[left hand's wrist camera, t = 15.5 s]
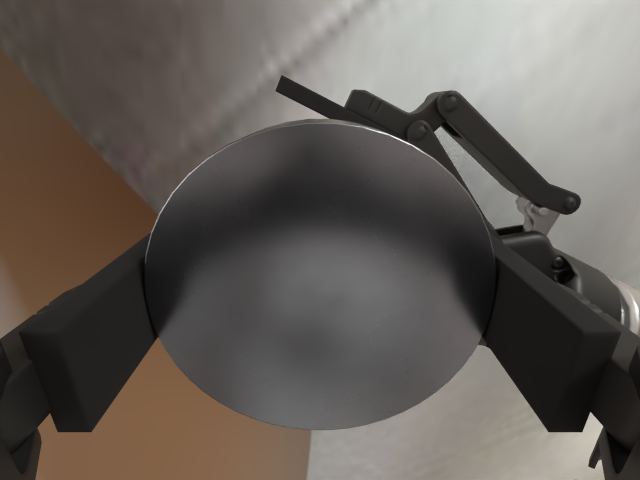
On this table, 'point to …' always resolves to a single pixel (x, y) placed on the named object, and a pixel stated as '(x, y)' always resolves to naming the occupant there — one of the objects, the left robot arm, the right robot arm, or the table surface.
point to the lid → (320, 275)
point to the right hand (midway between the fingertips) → (246, 173)
